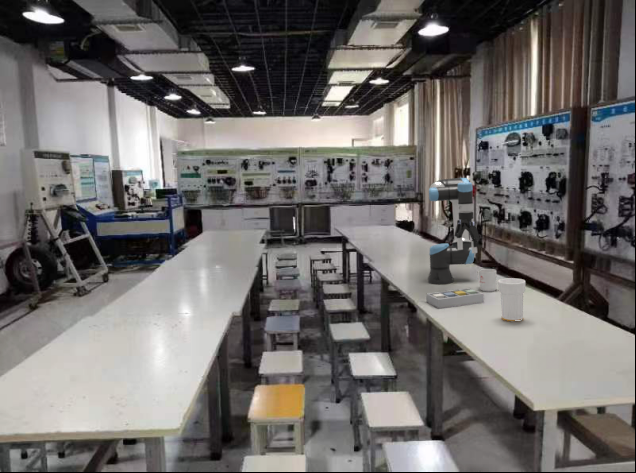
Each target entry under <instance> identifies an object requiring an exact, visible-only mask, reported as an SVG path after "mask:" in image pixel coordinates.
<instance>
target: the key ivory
mask: <svg viewBox="0 0 636 473" xmlns="http://www.w3.org/2000/svg"><path fill="white" fill-rule="evenodd" d="M432 296H434V297H436V298H438V299H440V298H444V295H442V294H433V295H432Z"/></svg>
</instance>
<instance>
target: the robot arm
mask: <svg viewBox="0 0 636 473" xmlns="http://www.w3.org/2000/svg"><path fill="white" fill-rule="evenodd" d="M473 188H474V187H473V183H472V182H471V181H470V180H469V179H468V178H467V177H457V178H455V177H454V178H443V179H442V178H441V179H438V180H435V181H434V182H432V183H431V184H430V186H429V189H428V199H429V201H430V202H441V201H442V202H443V201H450V202H451V203H452V205H451V206H452V218H453V219H452V220H453V238H454V240H453V241H452V243H451V244H452V245H450V244H449V243H447V242H446V243H444V242H443V243H438V244H433V245H432V246H430V247H429V254H428V255H429V273H428V277H427V283H428V284H431V285H432V284H433V285H446V284H451V283H453V282H454V277H453V275H452V272H451V269H450V268H451V265H455V266H456V265H472V264H473V262H474V260H475V254H478V241H480V240H481V238H480V235H479V231H478V227H477V225H476V221H472V220H473V219H474V212H473V211H474V200H473V199H474V198H473V195H474V193H473V192H474V191H473ZM470 238H471V240H470Z"/></svg>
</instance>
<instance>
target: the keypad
mask: <svg viewBox="0 0 636 473" xmlns="http://www.w3.org/2000/svg"><path fill="white" fill-rule="evenodd" d="M471 289H472V290H475V289H473V288H470V287H467V288H458V289H452V290H450V289H449V290H444V291H443V290H442V291H435V292H428V293H426V294H425V297H426V298H425V299H426V303H427V304H429V305H431V306H432V307H435V308H437V309H445V308H452V307H458V306H460V307H461V306H469V305H475V304H482V303H483V304H484V303H485V298H484V296H485V293H483V292H481V291H477V290H475V291H476V294H469V293H467V292H466V295H463V296H460V295H457V294H455V293H454V292H456V291H463V292H464V290H471ZM448 292H452V293H454V294H455V297H448V296H446V295H444V294H443V293H448ZM433 294H442V295H444V298H440V299H438V298H436V297H434V296H432V295H433Z"/></svg>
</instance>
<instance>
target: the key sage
mask: <svg viewBox="0 0 636 473" xmlns="http://www.w3.org/2000/svg"><path fill="white" fill-rule="evenodd" d="M472 289H473V288H471V290H464V292H467V293H469V294H476V291H477V290H476V291H475V289H473V290H472Z"/></svg>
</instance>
